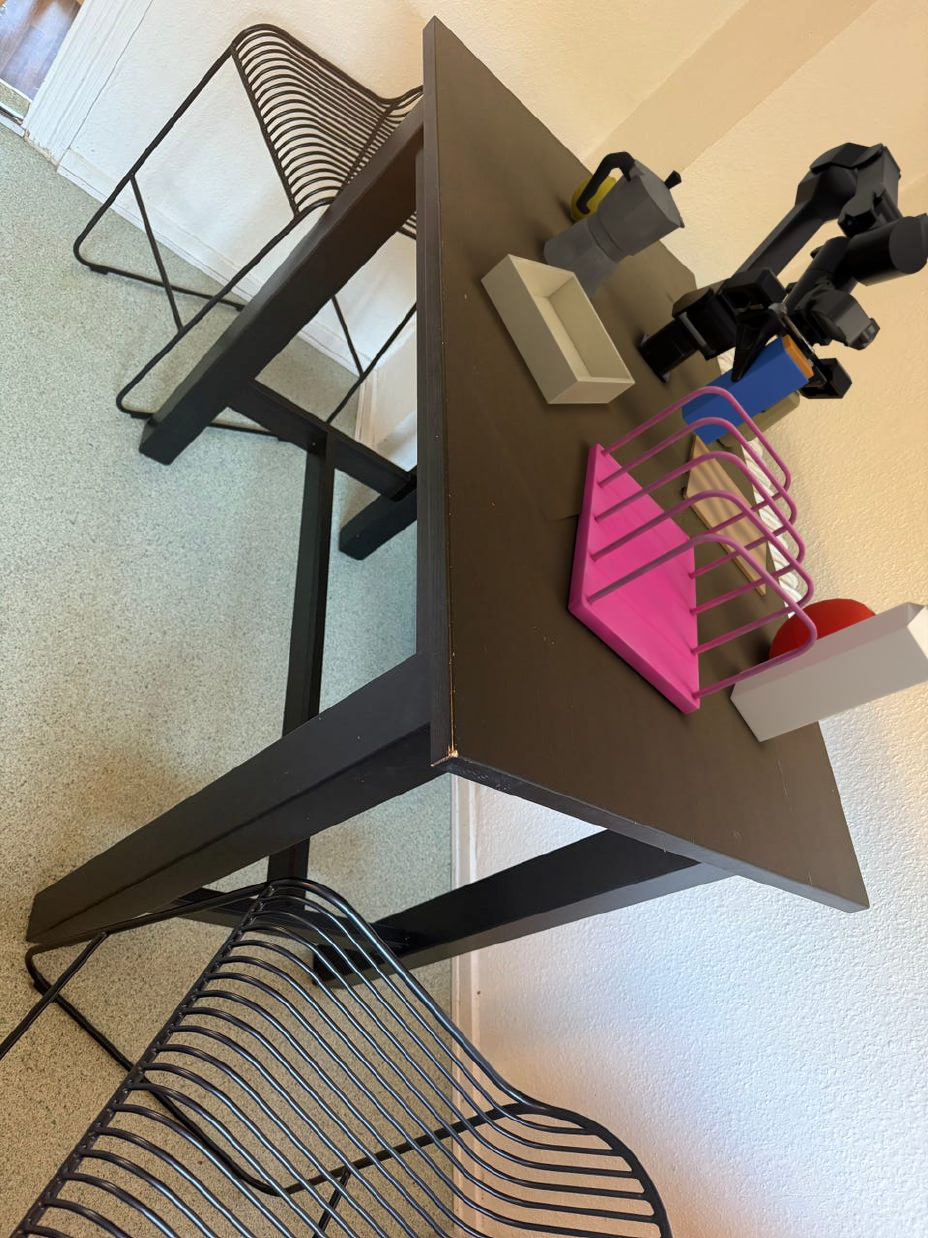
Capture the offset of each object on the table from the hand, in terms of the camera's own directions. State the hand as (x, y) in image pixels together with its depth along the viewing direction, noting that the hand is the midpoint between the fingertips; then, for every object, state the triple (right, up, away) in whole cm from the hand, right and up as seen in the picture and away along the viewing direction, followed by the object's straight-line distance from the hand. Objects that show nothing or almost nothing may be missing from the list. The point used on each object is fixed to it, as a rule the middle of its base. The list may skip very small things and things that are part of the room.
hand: (747, 396), depth 93 cm
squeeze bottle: (+7, +4, +34) cm, 35 cm away
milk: (-1, -35, -3) cm, 35 cm away
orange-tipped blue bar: (-5, -2, +5) cm, 7 cm away
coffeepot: (-20, +20, +14) cm, 31 cm away
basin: (-23, +5, 0) cm, 24 cm away
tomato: (+6, -32, +7) cm, 33 cm away
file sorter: (-15, -21, -10) cm, 28 cm away
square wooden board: (+4, -11, +20) cm, 23 cm away
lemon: (-16, +34, +28) cm, 47 cm away
